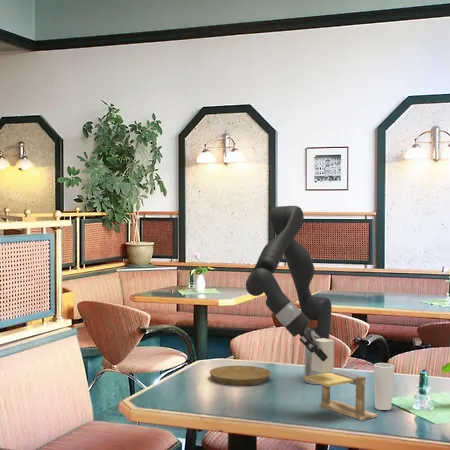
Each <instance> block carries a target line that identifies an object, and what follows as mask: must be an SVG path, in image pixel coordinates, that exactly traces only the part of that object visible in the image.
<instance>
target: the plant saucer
mask: <svg viewBox="0 0 450 450" xmlns="http://www.w3.org/2000/svg"><path fill="white" fill-rule="evenodd" d="M271 372H272V371H270V370H269V369H267V368H264V367H260V366H254V365H225V366H219V367H214V368H212V369H210V370H209V375H210V376H211V378H212V379H213V380H215V381H216V382H217V383H220V384H223V383H224V384H223V385H228V384H229V385H228V386H254V384H255V385H259V384H261V383H263V382H265V381H266V380H268V378H269V377H270V376H271V374H272V373H271Z"/></svg>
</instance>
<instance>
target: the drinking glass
mask: <svg viewBox="0 0 450 450" xmlns="http://www.w3.org/2000/svg"><path fill="white" fill-rule="evenodd" d="M394 380H395V365H394V364H391V363H388V362H387V363H386V362H377V363H374V364H373V386H374V387H373V389H374V390H373V391H374V407H375V409H376V410H378V411H381V410H388V411H390V410H392V403H393V402H392V401H393V390H394V382H395V381H394Z"/></svg>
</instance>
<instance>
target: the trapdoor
mask: <svg viewBox="0 0 450 450" xmlns="http://www.w3.org/2000/svg"><path fill="white" fill-rule="evenodd" d="M359 376H360V375H358V374H356V373H352V372H348V371H344V370H340V371H333V372H332V373H323V374H317V375H311V376H305V375H304V380H305V379H306V380H309V381H312V382H316V383H319V384H318V385H321V386H322V385H325V386H330V387H333V386H338V385H343V384H344V385H346V384H351V385H354V386H356V382H355V379H356V377H359Z"/></svg>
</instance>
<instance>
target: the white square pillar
mask: <svg viewBox="0 0 450 450" xmlns="http://www.w3.org/2000/svg"><path fill="white" fill-rule="evenodd" d="M316 340H317V344H318V346H319V347H320V349H321V350H322V351H323V352H324V353H325V354H326V355H327V356H328V358H327V359H326V360H325V361H322V360H321V359H320V358H319V357H318V356H317V355H316V354H315V353H312V369H311V370H313V371H316V372H319V373H326V372H332V373H334V361H335V359H334V358H335V357H334V356H335V340H332V339H330V338H329V339H325V338H321V339H316ZM313 347H314V346H313Z"/></svg>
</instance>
